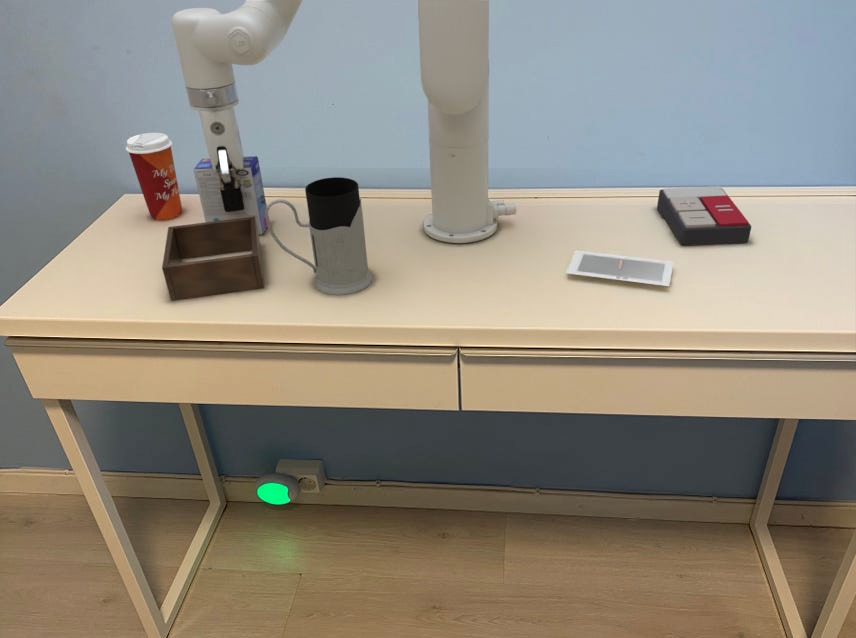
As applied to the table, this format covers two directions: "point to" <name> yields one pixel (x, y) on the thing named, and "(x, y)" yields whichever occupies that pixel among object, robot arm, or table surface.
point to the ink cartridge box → (250, 191)
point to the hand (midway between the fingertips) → (234, 201)
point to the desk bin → (212, 272)
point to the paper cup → (156, 174)
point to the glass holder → (334, 235)
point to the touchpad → (621, 268)
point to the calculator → (703, 216)
